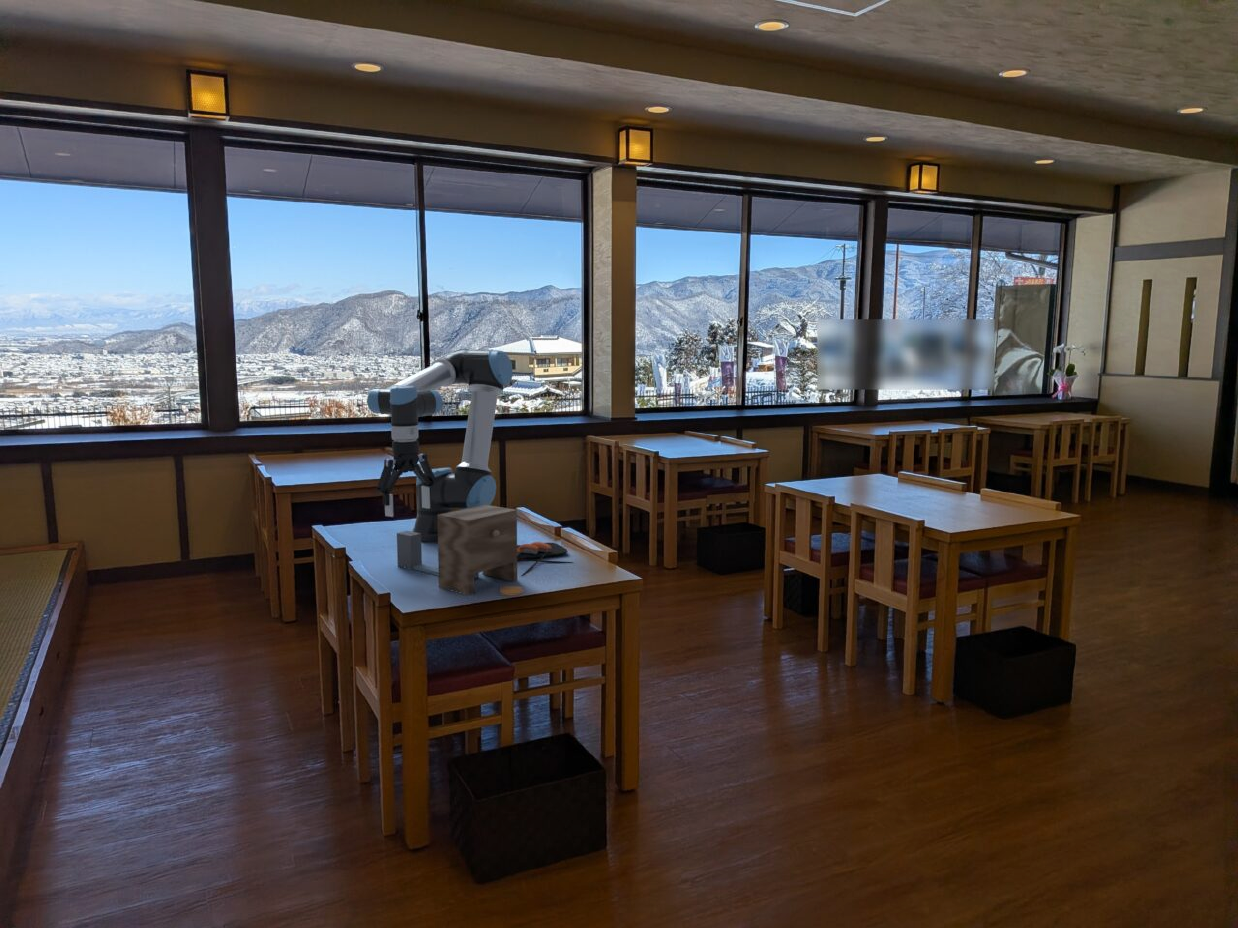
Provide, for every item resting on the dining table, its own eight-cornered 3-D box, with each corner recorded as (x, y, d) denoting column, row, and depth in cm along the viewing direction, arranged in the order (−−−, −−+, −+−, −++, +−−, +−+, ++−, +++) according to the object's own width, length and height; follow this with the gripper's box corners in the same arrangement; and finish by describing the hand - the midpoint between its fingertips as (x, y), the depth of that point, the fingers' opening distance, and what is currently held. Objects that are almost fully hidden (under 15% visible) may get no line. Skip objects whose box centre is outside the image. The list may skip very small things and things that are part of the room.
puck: (495, 593, 227) (495, 589, 226) (511, 588, 231) (511, 584, 231) (510, 598, 223) (510, 593, 223) (527, 593, 227) (527, 588, 227)
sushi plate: (554, 547, 278) (554, 535, 278) (591, 570, 251) (591, 557, 251) (466, 556, 266) (466, 544, 265) (495, 581, 239) (495, 567, 238)
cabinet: (438, 587, 231) (437, 514, 228) (486, 572, 245) (485, 504, 242) (473, 596, 223) (472, 521, 220) (520, 580, 237) (520, 510, 234)
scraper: (390, 567, 249) (389, 534, 248) (415, 561, 256) (414, 529, 255) (454, 584, 233) (454, 548, 232) (478, 577, 241) (478, 542, 239)
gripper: (378, 446, 234) (381, 521, 237) (446, 436, 254) (449, 506, 257) (361, 443, 238) (364, 517, 242) (429, 434, 258) (432, 503, 261)
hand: (408, 512), depth 249 cm, fingers open, 13 cm apart
